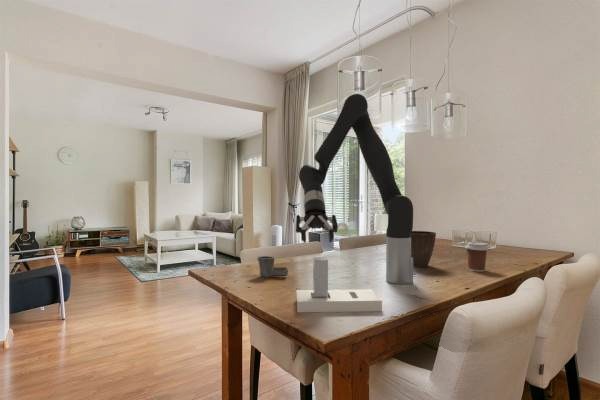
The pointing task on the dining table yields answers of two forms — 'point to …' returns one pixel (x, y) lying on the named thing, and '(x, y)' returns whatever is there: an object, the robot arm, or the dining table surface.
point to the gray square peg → (320, 277)
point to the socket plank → (339, 301)
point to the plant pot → (422, 247)
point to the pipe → (270, 267)
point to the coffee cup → (476, 256)
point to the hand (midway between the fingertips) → (317, 240)
